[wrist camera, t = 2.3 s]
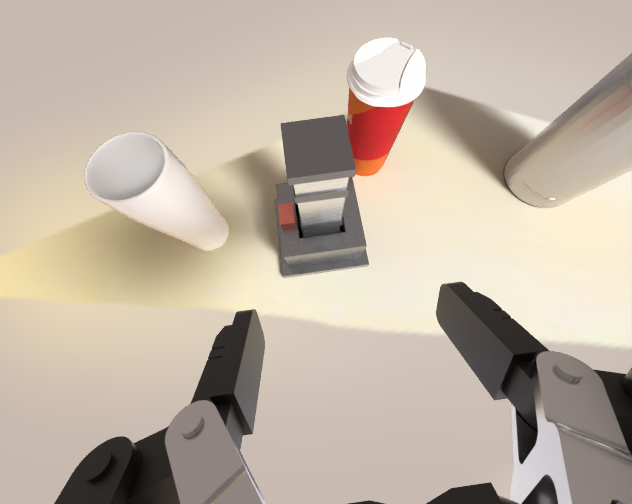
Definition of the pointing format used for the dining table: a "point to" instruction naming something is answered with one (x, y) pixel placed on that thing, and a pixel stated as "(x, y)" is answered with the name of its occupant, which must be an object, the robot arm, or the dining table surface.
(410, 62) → the paper cup
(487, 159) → the dining table surface
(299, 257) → the sleeve
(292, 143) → the column
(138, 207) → the drinking glass
